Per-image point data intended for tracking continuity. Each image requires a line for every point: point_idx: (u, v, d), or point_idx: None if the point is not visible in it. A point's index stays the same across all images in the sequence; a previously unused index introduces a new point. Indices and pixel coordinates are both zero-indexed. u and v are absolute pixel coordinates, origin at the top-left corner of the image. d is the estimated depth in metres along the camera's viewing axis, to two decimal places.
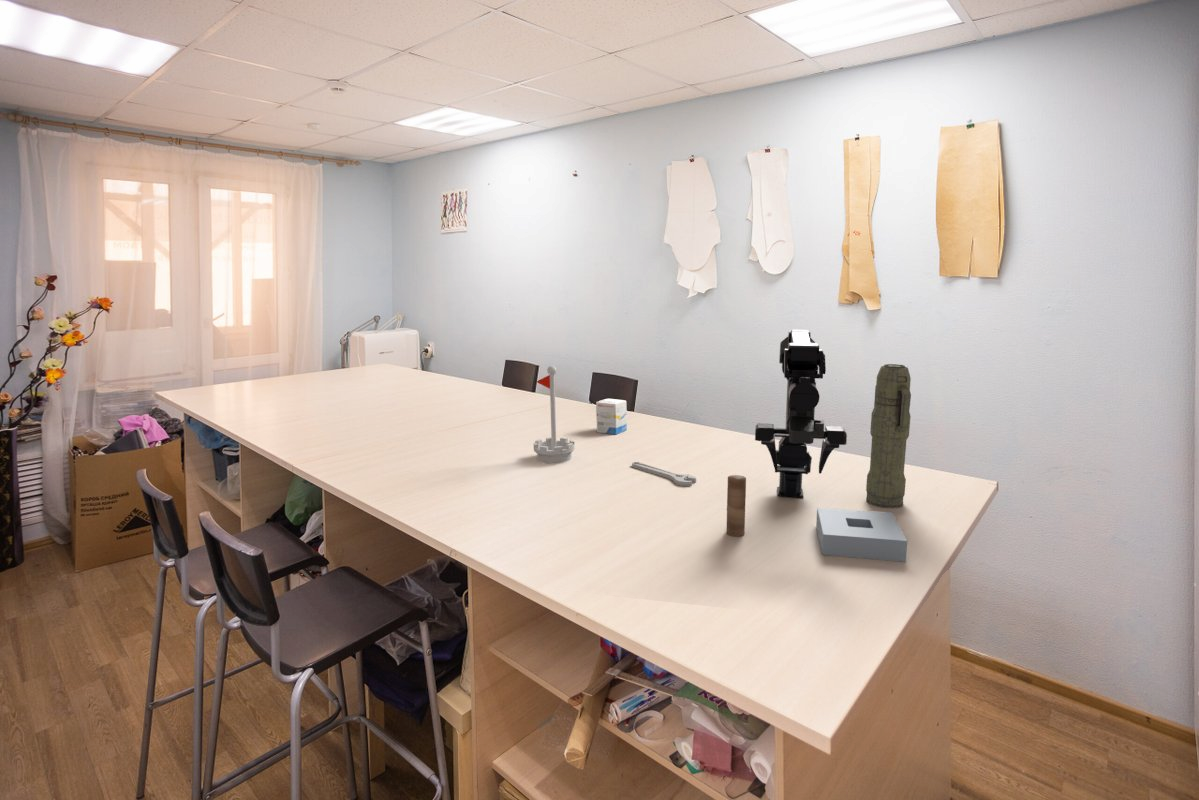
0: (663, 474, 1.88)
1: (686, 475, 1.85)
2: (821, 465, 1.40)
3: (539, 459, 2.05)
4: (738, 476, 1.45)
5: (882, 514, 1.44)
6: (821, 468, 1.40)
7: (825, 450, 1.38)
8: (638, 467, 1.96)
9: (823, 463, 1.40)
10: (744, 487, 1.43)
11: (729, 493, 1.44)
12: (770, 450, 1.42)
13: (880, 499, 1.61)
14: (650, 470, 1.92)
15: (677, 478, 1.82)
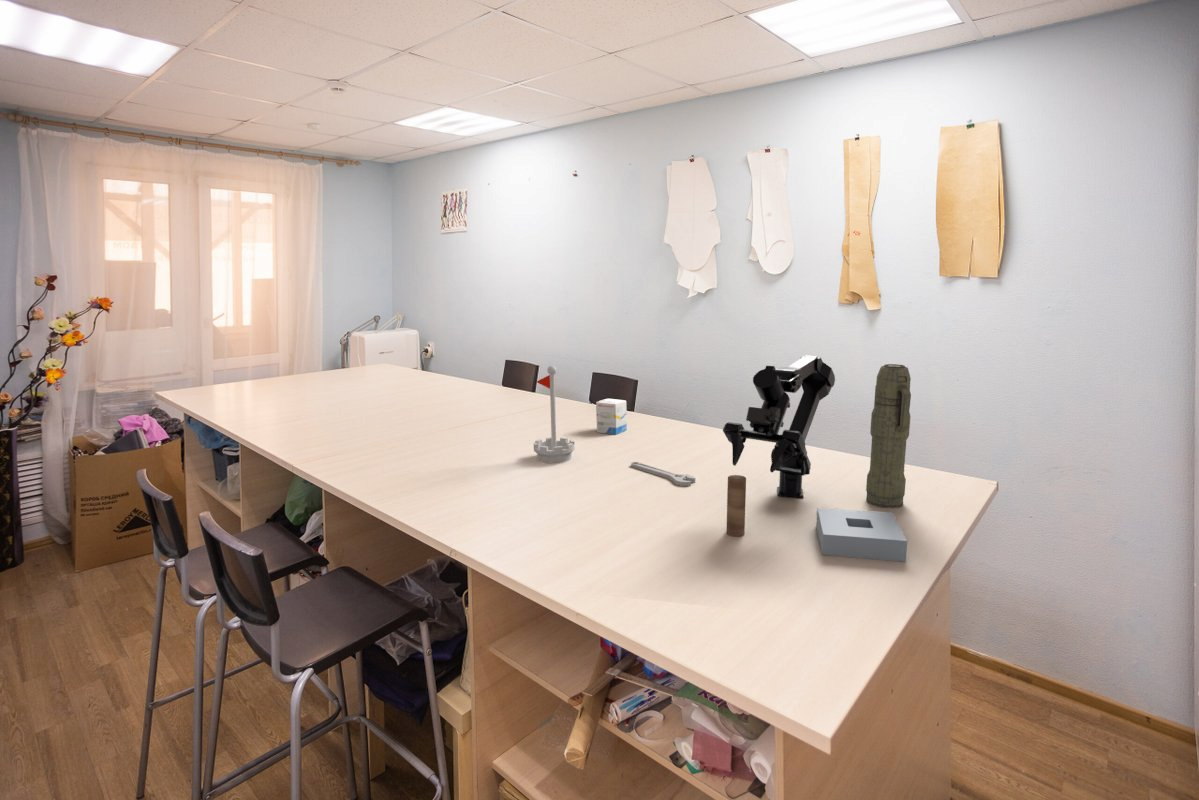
0: (662, 474, 1.88)
1: (685, 475, 1.85)
2: (773, 462, 1.47)
3: (539, 459, 2.05)
4: (738, 476, 1.45)
5: (882, 514, 1.44)
6: (772, 465, 1.47)
7: (779, 446, 1.48)
8: (637, 467, 1.96)
9: (775, 460, 1.47)
10: (744, 487, 1.43)
11: (729, 493, 1.44)
12: (733, 443, 1.55)
13: (880, 499, 1.61)
14: (649, 470, 1.92)
15: (676, 478, 1.82)
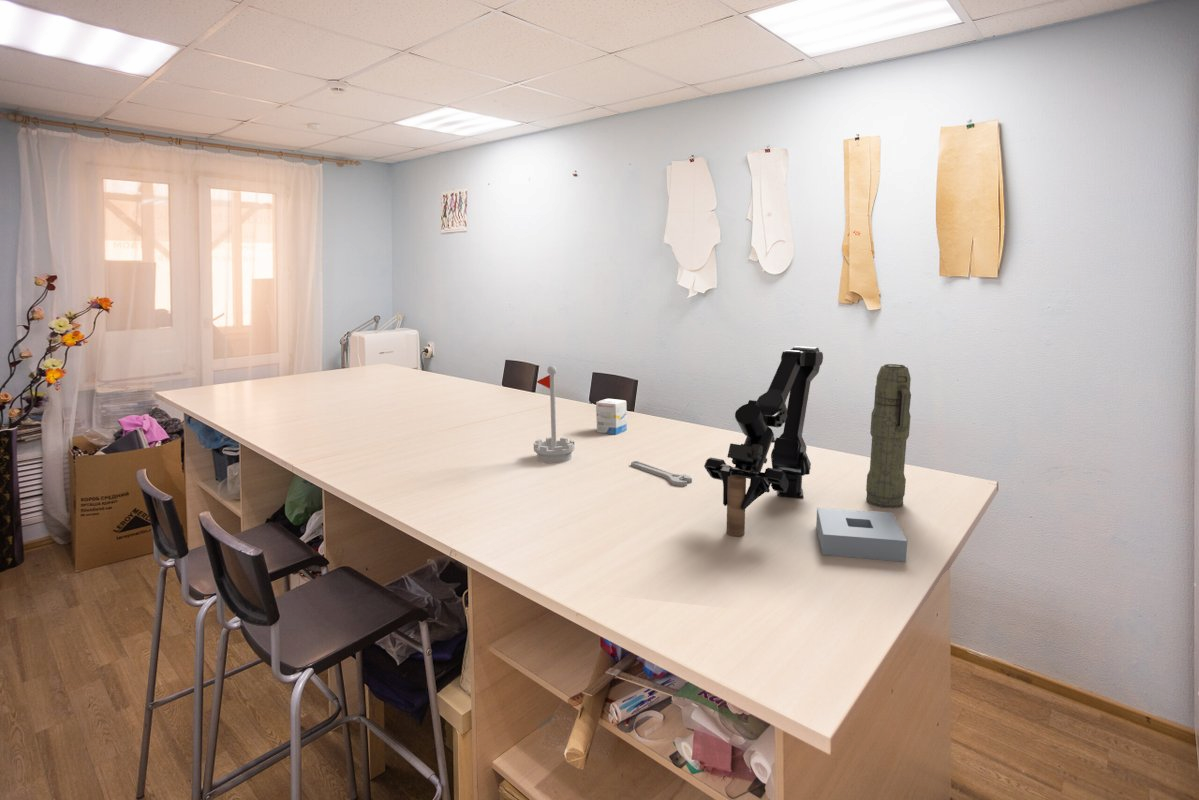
0: (660, 474, 1.88)
1: (682, 475, 1.85)
2: (744, 499, 1.43)
3: (539, 459, 2.05)
4: (738, 476, 1.45)
5: (882, 514, 1.44)
6: (744, 502, 1.43)
7: (751, 483, 1.44)
8: (637, 466, 1.97)
9: (747, 497, 1.43)
10: (744, 487, 1.43)
11: (729, 493, 1.44)
12: (724, 481, 1.48)
13: (880, 499, 1.61)
14: (648, 469, 1.93)
15: (673, 478, 1.83)
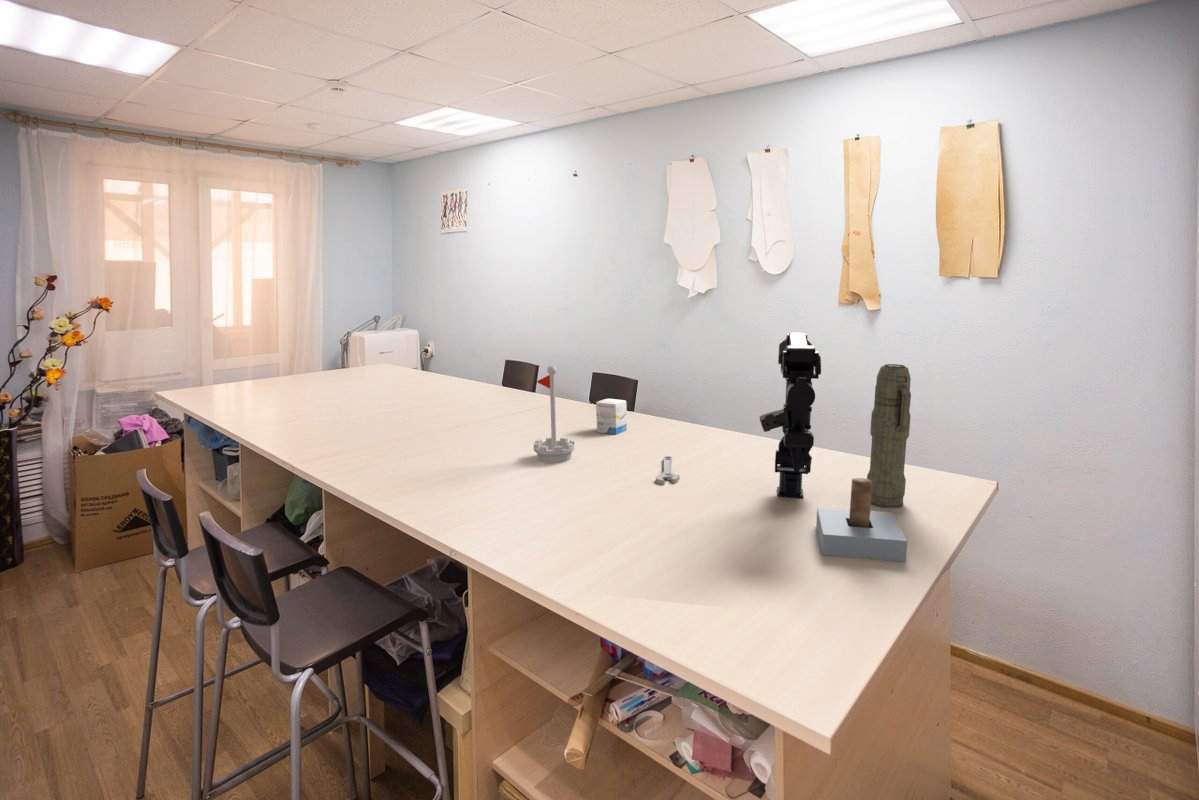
0: None
1: (674, 475, 1.85)
2: (792, 463, 1.48)
3: (539, 459, 2.05)
4: (858, 479, 1.39)
5: (882, 514, 1.44)
6: (793, 466, 1.48)
7: None
8: None
9: (792, 461, 1.47)
10: None
11: (862, 498, 1.37)
12: None
13: (880, 499, 1.61)
14: None
15: (660, 475, 1.85)
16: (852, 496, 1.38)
